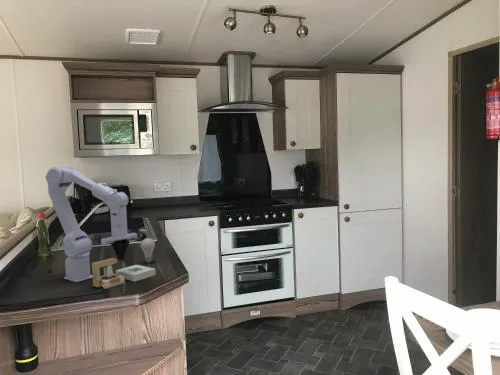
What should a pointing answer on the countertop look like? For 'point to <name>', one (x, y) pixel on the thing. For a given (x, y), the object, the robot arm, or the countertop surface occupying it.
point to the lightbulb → (148, 248)
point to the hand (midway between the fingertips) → (120, 259)
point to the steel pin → (108, 272)
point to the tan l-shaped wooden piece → (96, 269)
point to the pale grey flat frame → (136, 272)
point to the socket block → (111, 281)
